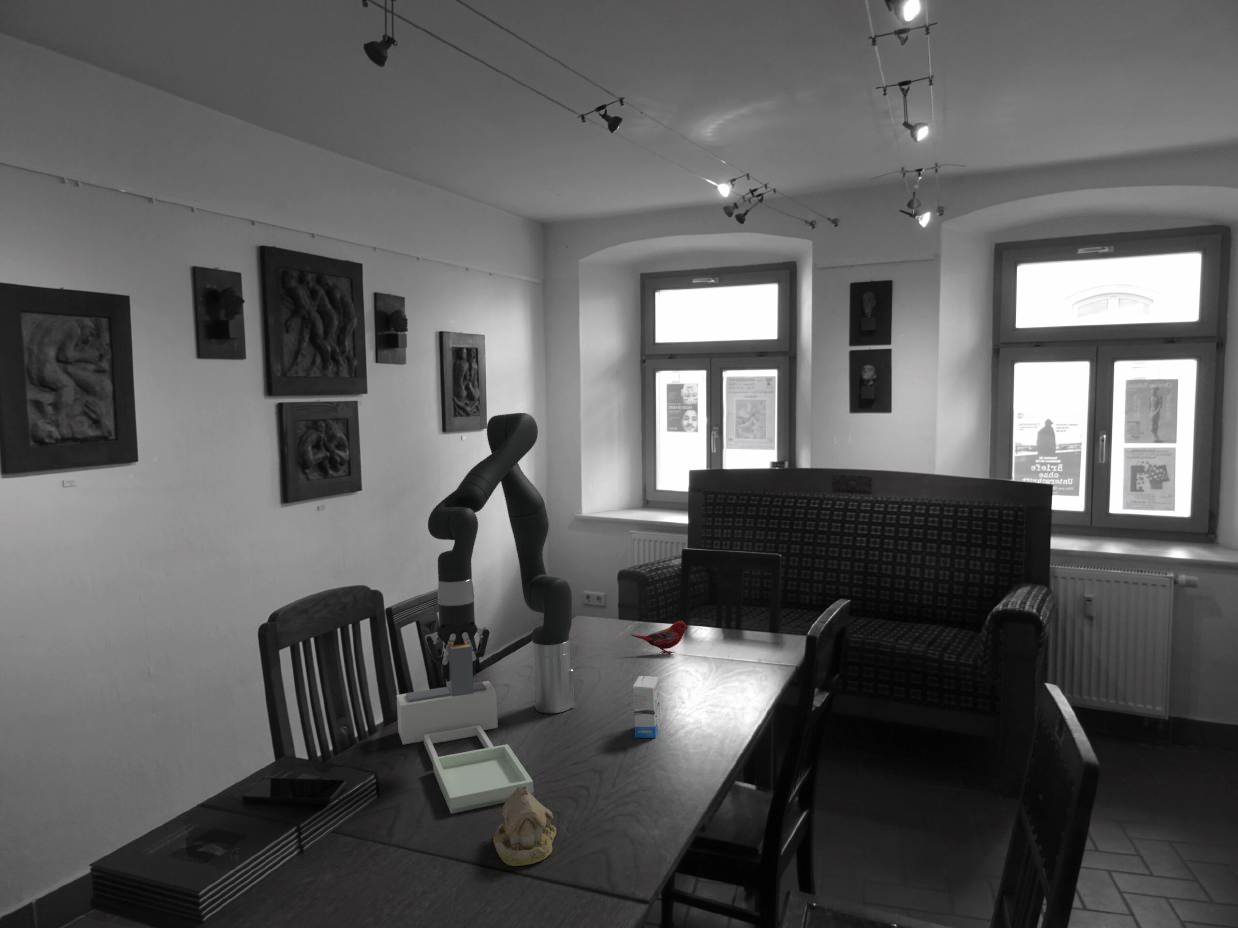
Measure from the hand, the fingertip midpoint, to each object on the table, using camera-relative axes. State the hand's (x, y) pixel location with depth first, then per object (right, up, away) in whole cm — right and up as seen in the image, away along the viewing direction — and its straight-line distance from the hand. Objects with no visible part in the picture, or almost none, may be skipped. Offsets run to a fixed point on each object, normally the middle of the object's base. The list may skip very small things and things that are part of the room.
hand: (459, 678), depth 177 cm
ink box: (+41, -16, +14) cm, 46 cm away
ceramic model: (+18, -20, -34) cm, 44 cm away
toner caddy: (0, -2, 0) cm, 2 cm away
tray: (+7, -18, -11) cm, 22 cm away
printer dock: (-3, -17, +11) cm, 21 cm away
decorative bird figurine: (+47, -12, +74) cm, 89 cm away
